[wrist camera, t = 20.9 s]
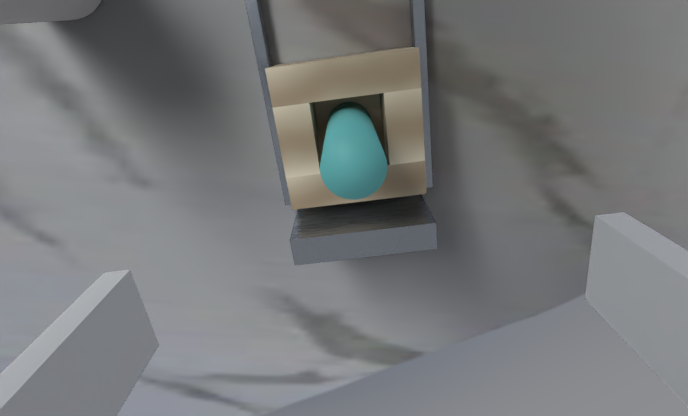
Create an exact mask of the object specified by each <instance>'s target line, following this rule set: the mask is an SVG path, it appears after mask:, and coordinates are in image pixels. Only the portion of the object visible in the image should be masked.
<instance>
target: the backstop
mask: <svg viewBox="0 0 688 416" xmlns="http://www.w3.org/2000/svg"><path fill="white" fill-rule="evenodd" d="M245 4H246V9H247V14H248V19H249V24H250V29H251V34H252V39H253V44H254V49H255V54H256V59H257V64H258V69H259V74H260V79H261V84H262V89H263V94H264V99H265V104H266V109H267V114H268V120H269V125H270V130H271V135H272V140H273V145H274V150H275V155H276V160H277V165H278V170H279V175H280V180H281V185H282V190H283V195H284V200H285V205H290V204H291V202H290V196H289V191H288V186H287V181H286V176H285V170H284V165H283V160H282V155H281V150H280V145H279V139H278V134H277V129H276V124H275V119H274V113H273V108H272V103H271V98H270V93H269V87H268V82H267V77H266V72H265V69H266V68H269V67H272V65H271V60H270V54H269V49H268V44H267V38H266V33H265V28H264V22H263V17H262V11H261V6H260V1H259V0H245ZM410 11H411V28H412V45H413V47H418V48H419V53H420V72H421V91H422V111H423V130H424V149H425V168H426V187H427V188H430V187H433V181H432V159H431V137H430V115H429V93H428V71H427V49H426V28H425V6H424V0H410ZM290 244H291V249H292V254H293V259H294V264H295V265H302V264H311V263H320V262H328V261H337V260H346V259H355V258H363V257H372V256H381V255H390V254H398V253H407V252H416V251H425V250H433V249H437V231H436V222H435V220H434V218H433V216H432V214H431V212H430V210H429V208H428V206H427V205H426V203H425V201H424V199H423V197H422V195H421V194H420V195H411V196H403V197H395V198H386V199H378V200H370V201H362V202H353V203H345V204H337V205H328V206H320V207H312V208H304V209H298V211H297V215H296V218H295V222H294V226H293V230H292V233H291V237H290Z"/></svg>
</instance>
